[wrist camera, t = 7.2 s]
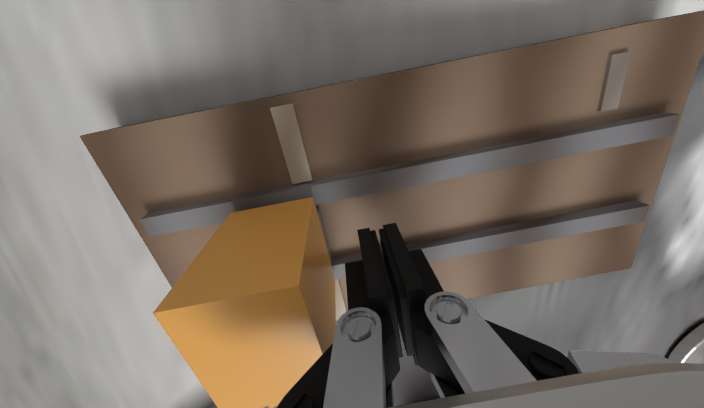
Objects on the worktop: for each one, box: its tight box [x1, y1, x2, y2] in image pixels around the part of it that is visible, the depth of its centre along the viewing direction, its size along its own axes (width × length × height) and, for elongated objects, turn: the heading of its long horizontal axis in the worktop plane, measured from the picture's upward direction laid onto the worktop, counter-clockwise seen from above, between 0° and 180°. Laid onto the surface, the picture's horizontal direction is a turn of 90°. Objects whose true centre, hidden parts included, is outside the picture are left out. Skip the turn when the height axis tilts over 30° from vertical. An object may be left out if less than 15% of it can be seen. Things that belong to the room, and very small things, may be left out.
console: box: [80, 11, 704, 323], centre depth 15 cm, size 28×14×3 cm, turn 100°
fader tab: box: [153, 197, 336, 408], centre depth 11 cm, size 4×5×7 cm
